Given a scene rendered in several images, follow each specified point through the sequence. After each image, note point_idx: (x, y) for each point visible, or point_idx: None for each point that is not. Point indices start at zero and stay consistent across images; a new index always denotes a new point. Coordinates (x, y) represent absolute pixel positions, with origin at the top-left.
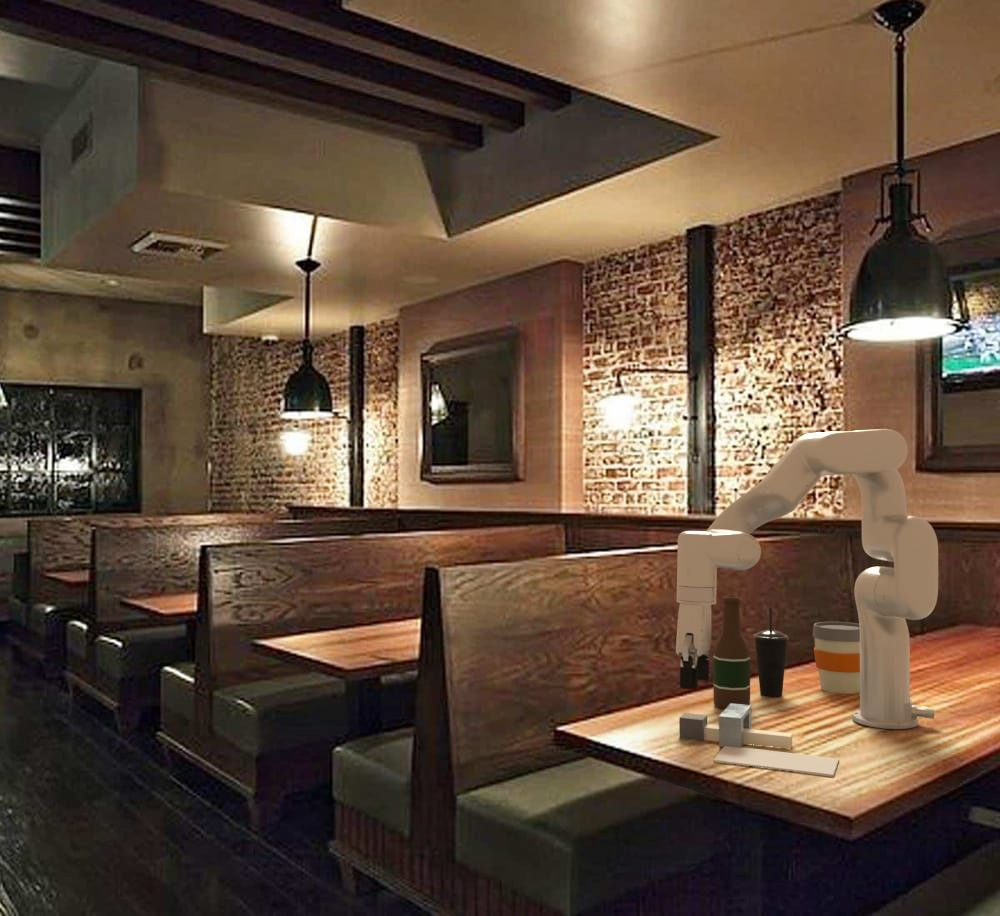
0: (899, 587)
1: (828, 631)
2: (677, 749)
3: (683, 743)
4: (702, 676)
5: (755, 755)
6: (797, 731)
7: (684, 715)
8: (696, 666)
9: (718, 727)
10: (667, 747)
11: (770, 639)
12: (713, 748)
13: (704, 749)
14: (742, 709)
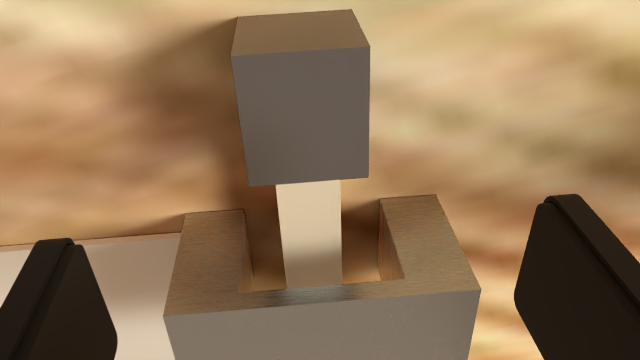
0: None
1: None
2: (29, 71)
3: (153, 65)
4: (530, 291)
5: (133, 340)
6: (532, 351)
7: (301, 68)
8: (596, 319)
9: (306, 215)
10: (24, 13)
11: None
12: (160, 198)
13: (120, 174)
14: (363, 355)
